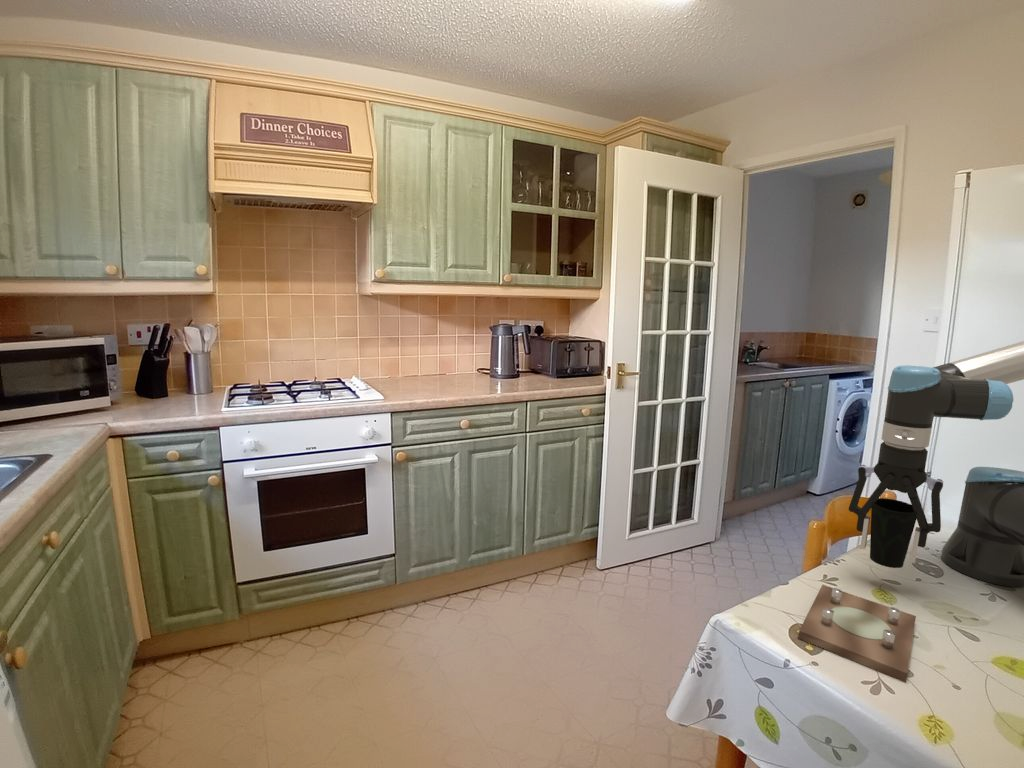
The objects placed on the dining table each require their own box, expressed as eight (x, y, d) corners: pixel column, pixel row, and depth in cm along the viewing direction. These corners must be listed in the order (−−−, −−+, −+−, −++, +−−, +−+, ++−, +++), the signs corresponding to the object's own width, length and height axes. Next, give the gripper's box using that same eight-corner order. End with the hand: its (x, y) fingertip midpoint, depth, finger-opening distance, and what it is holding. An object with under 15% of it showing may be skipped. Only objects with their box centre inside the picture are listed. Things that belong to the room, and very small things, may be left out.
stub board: (914, 623, 96) (918, 603, 96) (905, 682, 81) (910, 658, 81) (821, 591, 106) (824, 572, 105) (798, 638, 91) (801, 617, 90)
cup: (917, 573, 103) (927, 515, 101) (874, 568, 105) (882, 511, 103) (897, 554, 111) (906, 500, 109) (857, 550, 112) (865, 496, 110)
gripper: (840, 438, 107) (826, 543, 111) (973, 460, 94) (952, 578, 98) (846, 431, 113) (832, 531, 117) (972, 451, 100) (952, 563, 104)
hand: (887, 553), depth 107 cm, fingers closed on cup, 8 cm apart
